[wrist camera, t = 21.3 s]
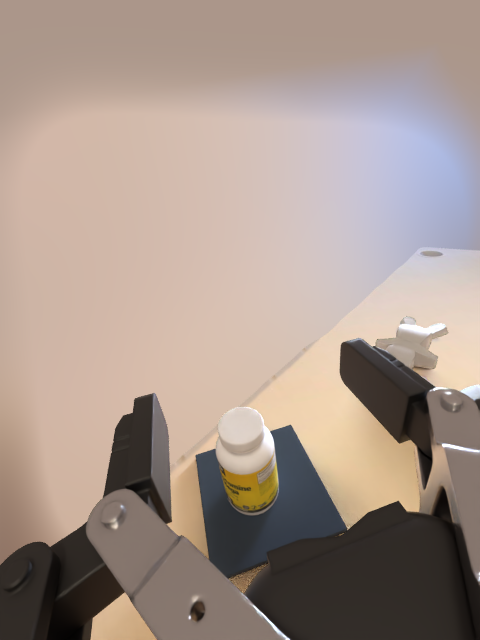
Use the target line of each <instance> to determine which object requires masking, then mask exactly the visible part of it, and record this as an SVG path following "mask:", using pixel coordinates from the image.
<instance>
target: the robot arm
mask: <svg viewBox="0 0 480 640" xmlns="http://www.w3.org/2000/svg"><path fill="white" fill-rule="evenodd" d="M340 375H341V378H342V381H343V382H344V384H345V385H346V386H347V387H348V388H349V389H350V390H351V392H352V393H353V394H354V395H355V396H356V397H357V398H358V399H359V400H360V401H361V402H362V404H363V405H364V406H365V407H366V408H367V409H368V410H369V411H370V412H371V413H372V414H373V416H374V417H375V418H376V419H377V420H378V421H379V422H380V423H381V424H382V425H383V426H384V428H385V429H386V430H387V431H388V432H389V433H390V434H391V435H392V436H393V437H394V438H395V440H396V441H397V442H398V443H399V444H400V443H403V442H405V441H408V440H412V441H413V442H414V443H415V447H414V454H415V462H416V470H417V478H418V485H419V493H420V509H419V512H407V511H406V510H405V509H404V507H403V506H402V505H401V503H400V502H399V501H397V502H394V503H392V504H389V505H386V506H384V507H381V508H379V509H376V510H374V511H371V512H368V513H367V514H366V515H365V516H364V517H362V518H361V519H360V520H359V521H358V522H357V523H356V524H354V525H353V526H352V527H351V528H350V529H349V530H347V531H346V532H345V533H344V534H343V535H341V536H337V537H320V538H303V539H299V540H296V541H294V542H291V543H288V544H286V545H283V546H281V547H278V548H276V549H273V550H270V551H268V552H266V553H267V558H268V565H267V566H266V567H264V568H263V569H262V570H261V571H260V572H259V573H258V574H257V575H256V577H255V578H254V579H253V580H252V582H251V583H250V585H249V586H248V588H247V590H246V592H245V593H244V594H243V593H242V592H241V591H240V590H239V589H238V588H237V587H236V586H235V585H234V584H233V583H232V582H231V581H230V580H229V579H228V578H227V577H226V576H225V575H223V574H222V573H221V572H220V571H219V570H218V569H217V568H216V567H215V566H214V565H213V564H212V563H211V562H210V561H209V560H208V559H207V558H206V557H205V556H204V555H203V554H202V553H201V552H200V551H199V550H198V549H197V548H196V547H195V546H194V545H193V544H192V543H191V542H190V541H189V540H188V539H187V538H185V537H184V536H182V535H181V536H178V535H177V534H175V533H174V532H173V531H172V530H171V529H170V528H169V527H168V526H167V525H166V524H167V523H170V522H172V517H171V490H170V463H169V436H168V429H167V424H166V421H165V418H164V415H163V412H162V409H161V407H160V404H159V401H158V398H157V396H156V394H155V393H153V394H149V395H145V396H142V397H138V398H135V400H134V408H133V413H131V414H127V415H124V416H123V417H122V418H121V420H120V422H119V423H118V425H117V427H116V429H115V434H114V440H113V441H114V443H113V446H112V453H111V457H110V462H109V468H108V474H107V480H106V485H105V491H104V495H103V499H102V500H100V501H99V502H98V503H97V505H96V506H95V507H94V509H93V510H92V512H91V513H90V515H89V518H88V521H87V522H86V523H85V524H84V525H83V526H81V527H80V528H79V529H77V530H76V531H74V532H73V533H71V534H70V535H68V536H66V537H65V538H64V539H62V540H60V541H59V542H57V543H56V544H54V545H53V546H51V547H49V546H48V545H47V544H46V543H43V542H33V543H30V544H27V545H25V546H23V547H21V548H20V549H18V550H17V551H15V552H14V553H13V554H12V555H10V556H9V557H8V558H7V559H6V560H5V561H4V562H3V563H2V564H1V565H0V640H90V639H91V629H92V620H93V617H94V616H96V615H97V614H98V613H99V612H101V611H102V610H103V609H104V608H106V607H107V606H108V605H109V604H111V603H112V602H113V601H114V600H116V599H117V598H118V597H119V596H121V595H122V594H123V593H124V592H126V594H127V595H128V597H129V598H130V600H131V602H132V604H133V605H134V607H135V608H136V610H137V611H138V612H139V614H140V615H141V617H142V618H143V620H144V621H145V623H146V624H147V626H148V627H149V628H150V630H151V631H152V633H153V634H154V636H155V637H156V639H157V640H480V399H471V398H470V397H469V396H467V395H466V394H464V393H462V392H460V391H457V390H454V389H450V388H436V387H435V386H433V385H432V384H431V383H429V382H428V381H427V380H425V379H424V378H422V377H421V376H420V375H418V374H417V373H416V372H414V371H413V370H412V369H410V368H409V367H408V366H405V364H404V363H402V362H401V361H400V360H397V358H396V357H394V356H393V355H392V354H390V353H389V352H388V351H385V350H383V349H380V348H378V347H375V346H373V347H372V346H370V345H369V344H368V343H367V342H365V341H364V340H363V339H361V338H357V339H354V340H350V341H346V342H343V343H342V344H341V353H340Z"/></svg>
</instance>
